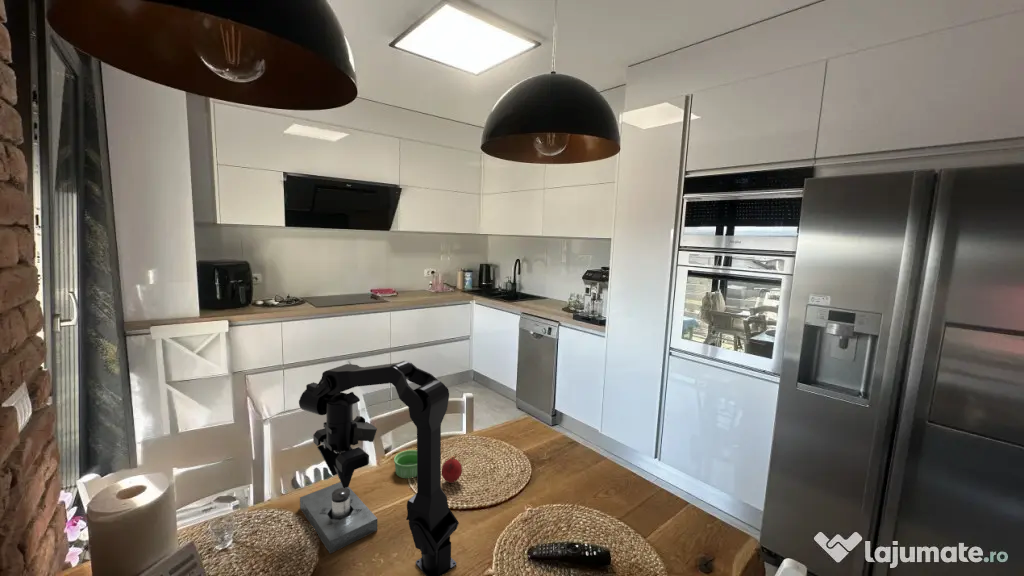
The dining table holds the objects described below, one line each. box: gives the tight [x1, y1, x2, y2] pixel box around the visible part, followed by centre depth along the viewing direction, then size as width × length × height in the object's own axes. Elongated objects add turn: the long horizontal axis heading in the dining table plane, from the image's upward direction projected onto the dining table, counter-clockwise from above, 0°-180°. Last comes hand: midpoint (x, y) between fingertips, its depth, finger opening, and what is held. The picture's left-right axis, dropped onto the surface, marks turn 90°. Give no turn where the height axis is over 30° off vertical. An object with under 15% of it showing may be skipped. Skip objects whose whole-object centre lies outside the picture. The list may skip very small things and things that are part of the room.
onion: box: [441, 455, 463, 484], centre depth 116 cm, size 6×6×8 cm
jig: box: [299, 481, 378, 555], centre depth 99 cm, size 20×11×3 cm, turn 44°
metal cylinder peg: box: [332, 488, 350, 520], centre depth 98 cm, size 4×4×8 cm
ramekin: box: [393, 449, 417, 479], centre depth 121 cm, size 9×9×4 cm
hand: (340, 480), depth 97 cm, fingers open, 6 cm apart
